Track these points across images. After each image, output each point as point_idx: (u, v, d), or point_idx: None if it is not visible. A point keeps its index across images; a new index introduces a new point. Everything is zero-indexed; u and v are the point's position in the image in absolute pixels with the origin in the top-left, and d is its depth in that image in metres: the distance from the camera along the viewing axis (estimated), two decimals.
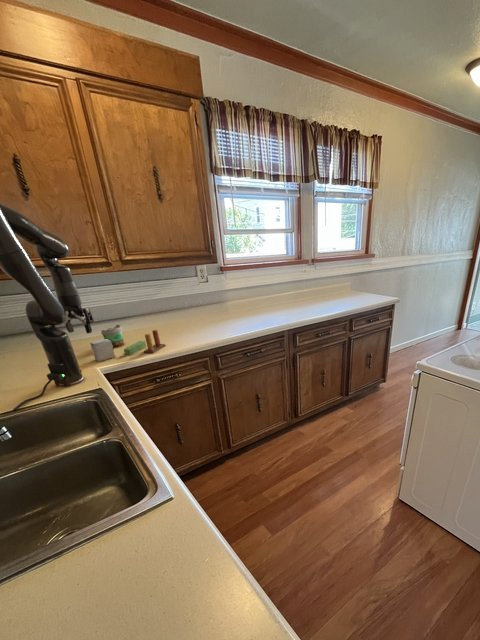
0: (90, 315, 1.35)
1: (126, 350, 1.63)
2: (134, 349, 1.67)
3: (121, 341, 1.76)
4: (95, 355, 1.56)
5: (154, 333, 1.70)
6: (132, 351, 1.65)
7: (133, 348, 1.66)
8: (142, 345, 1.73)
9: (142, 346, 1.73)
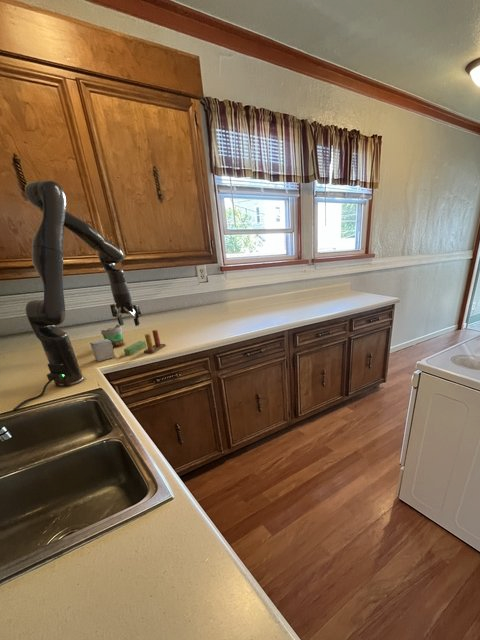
0: (139, 310, 1.60)
1: (126, 350, 1.63)
2: (134, 349, 1.67)
3: (121, 341, 1.76)
4: (95, 355, 1.56)
5: (154, 333, 1.70)
6: (132, 351, 1.65)
7: (133, 348, 1.66)
8: (142, 345, 1.73)
9: (142, 346, 1.73)
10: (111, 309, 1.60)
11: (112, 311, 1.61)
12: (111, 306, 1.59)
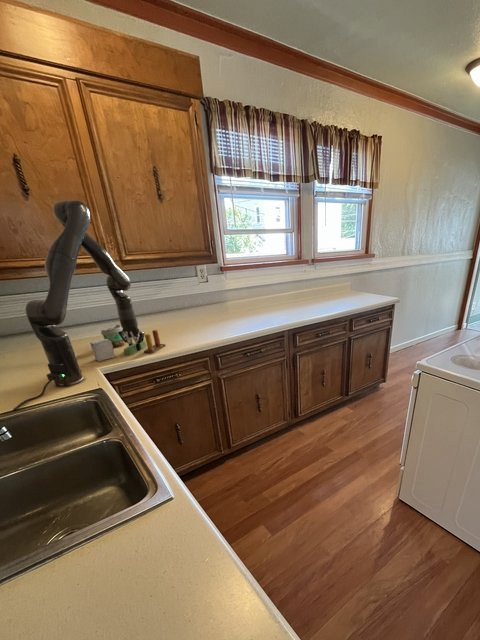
0: (143, 337, 1.67)
1: (126, 350, 1.63)
2: (134, 349, 1.67)
3: (121, 341, 1.76)
4: (95, 355, 1.56)
5: (154, 333, 1.70)
6: (132, 351, 1.65)
7: (133, 348, 1.66)
8: (142, 345, 1.73)
9: (142, 346, 1.73)
10: None
11: (122, 337, 1.67)
12: (119, 333, 1.66)
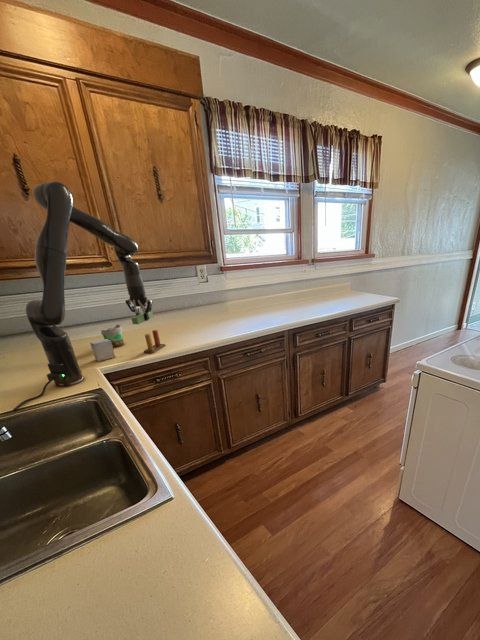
0: (151, 306, 1.61)
1: (134, 319, 1.57)
2: (142, 318, 1.61)
3: (121, 341, 1.76)
4: (95, 355, 1.56)
5: (154, 333, 1.70)
6: (140, 320, 1.60)
7: (141, 317, 1.60)
8: (150, 316, 1.68)
9: (150, 316, 1.67)
10: (128, 305, 1.60)
11: (129, 306, 1.61)
12: (126, 302, 1.60)
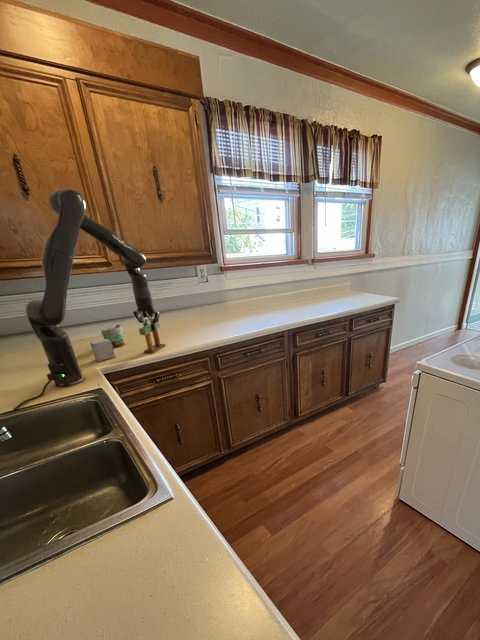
0: (158, 317, 1.63)
1: (141, 330, 1.60)
2: (149, 329, 1.63)
3: (121, 341, 1.76)
4: (95, 355, 1.56)
5: (154, 333, 1.70)
6: (147, 331, 1.62)
7: (148, 328, 1.63)
8: (157, 326, 1.70)
9: (157, 327, 1.70)
10: (135, 316, 1.63)
11: (137, 317, 1.63)
12: (134, 313, 1.62)
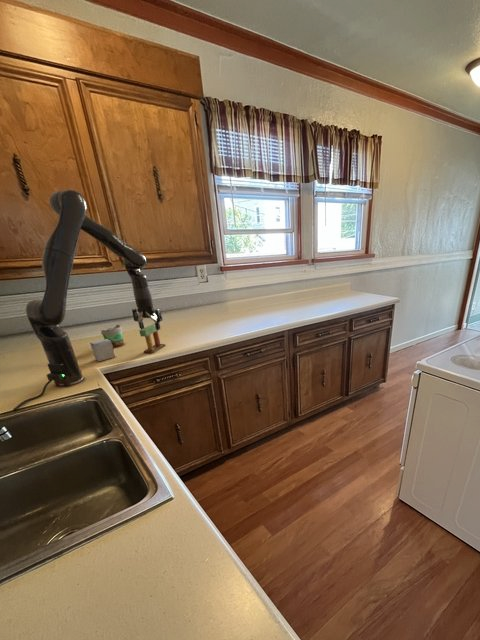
0: (160, 315, 1.63)
1: (142, 331, 1.60)
2: (149, 331, 1.64)
3: (121, 341, 1.76)
4: (95, 355, 1.56)
5: (154, 333, 1.70)
6: (148, 333, 1.62)
7: (149, 330, 1.63)
8: None
9: None
10: (133, 313, 1.63)
11: (134, 315, 1.63)
12: (133, 311, 1.62)
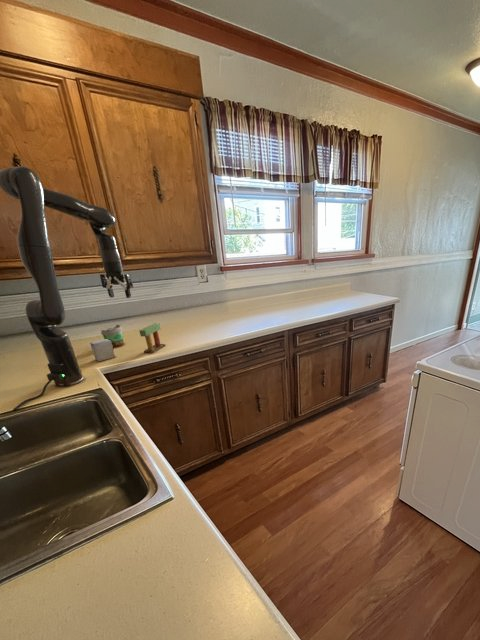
0: (130, 281, 1.50)
1: (142, 331, 1.60)
2: (149, 331, 1.64)
3: (121, 341, 1.76)
4: (95, 355, 1.56)
5: (154, 333, 1.70)
6: (148, 333, 1.62)
7: (149, 330, 1.63)
8: (157, 328, 1.71)
9: (157, 328, 1.70)
10: (101, 279, 1.50)
11: (102, 281, 1.51)
12: (101, 276, 1.50)
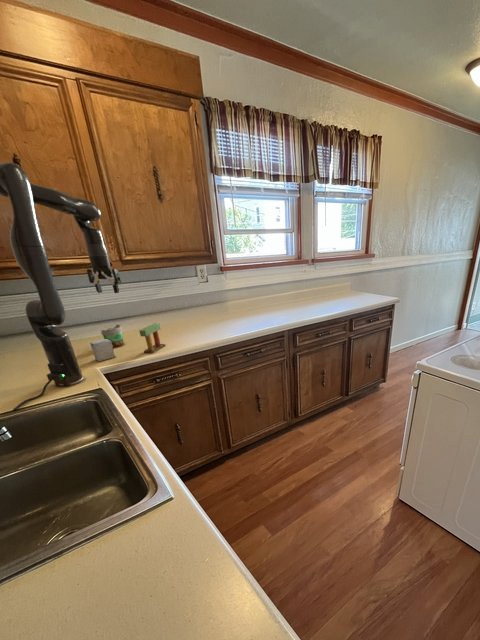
0: (118, 276, 1.47)
1: (142, 331, 1.60)
2: (149, 331, 1.64)
3: (121, 341, 1.76)
4: (95, 355, 1.56)
5: (154, 333, 1.70)
6: (148, 333, 1.62)
7: (149, 330, 1.63)
8: (157, 328, 1.71)
9: (157, 328, 1.70)
10: (88, 274, 1.47)
11: (89, 276, 1.48)
12: (88, 271, 1.47)
